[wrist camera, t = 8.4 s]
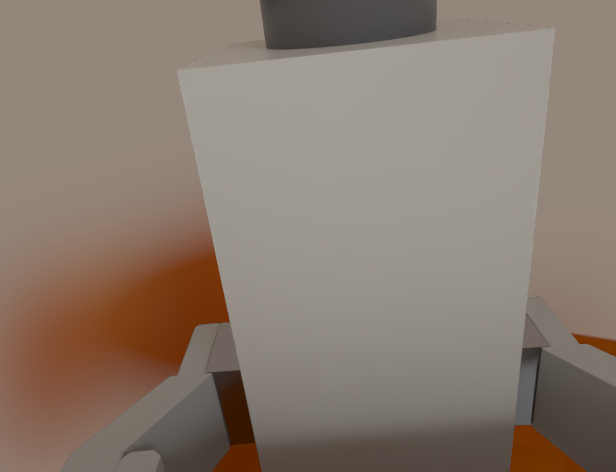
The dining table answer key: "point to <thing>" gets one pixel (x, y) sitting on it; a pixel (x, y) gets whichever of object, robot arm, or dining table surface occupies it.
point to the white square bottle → (374, 228)
